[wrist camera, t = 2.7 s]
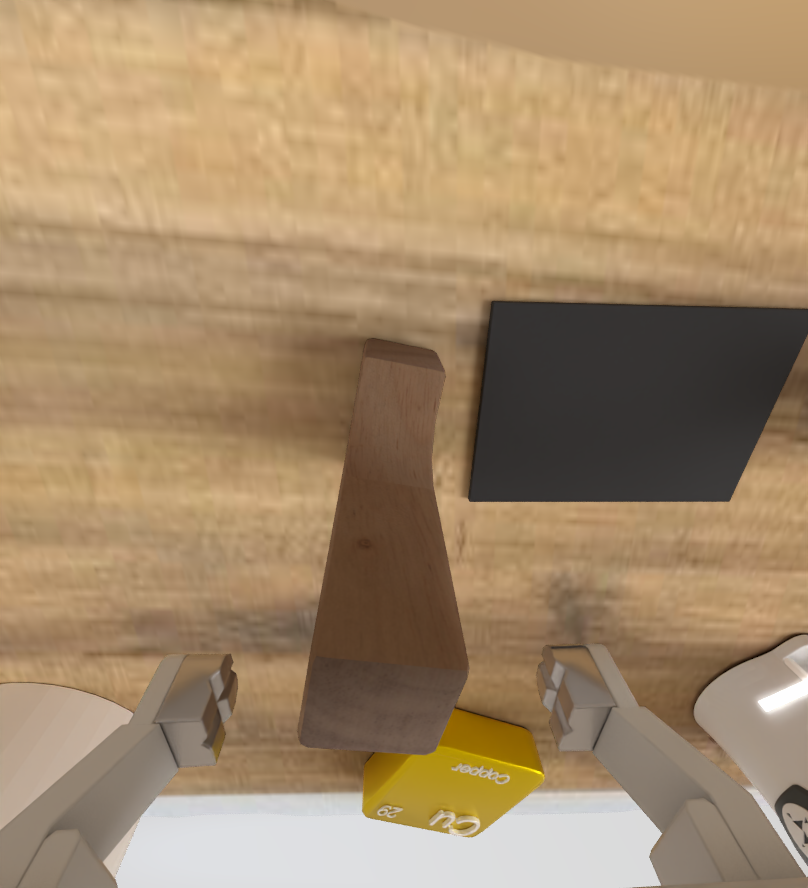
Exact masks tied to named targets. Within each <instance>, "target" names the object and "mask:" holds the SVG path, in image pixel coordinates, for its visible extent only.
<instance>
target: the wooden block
mask: <svg viewBox="0 0 808 888" xmlns="http://www.w3.org/2000/svg"><path fill="white" fill-rule="evenodd" d="M445 377H446V376H445V370H444V368H443V366H442V364H441V362H440V359H439V357H438V355H437V353H436V352H434V351H433V350H428V349H423V348H418V347H413V346H408V345H403V344H398V343H393V342H388V341H383V340H378V339H374V338H372V339H368V340H367V341H366V343H365V347H364V352H363V357H362V363H361V369H360V375H359V381H358V387H357V393H356V398H355V404H354V410H353V416H352V422H351V428H350V434H349V439H348V445H347V451H346V457H345V462H344V468H343V474H342V479H341V485H340V490H339V496H338V501H337V507H336V512H335V518H334V523H333V529H332V535H331V540H330V546H329V551H328V557H327V562H326V568H325V573H324V579H323V584H322V590H321V595H320V601H319V607H318V612H317V618H316V623H315V629H314V634H313V640H312V645H311V651H310V657H309V663H308V669H307V675H306V681H305V688H304V694H303V700H302V706H301V712H300V718H299V724H298V736H299V741H300V743H301V744H302V745H304V746H306V747H310V748H325V749H340V750H354V751H369V752H384V753H399V754H414V755H427V754H430V753H433V752H434V751H436V748H437V746H438V744H439V742H440V739H441V737H442V735H443V732H444V730H445V728H446V726H447V723H448V721H449V719H450V716H451V714H452V712H453V710H454V707H455V705H456V703H457V700H458V698H459V696H460V694H461V691H462V689H463V687H464V684H465V682H466V680H467V677H468V673H469V663H468V658H467V653H466V648H465V643H464V638H463V633H462V628H461V623H460V618H459V613H458V607H457V602H456V597H455V592H454V587H453V582H452V577H451V572H450V567H449V562H448V557H447V552H446V547H445V542H444V537H443V532H442V527H441V522H440V517H439V512H438V507H437V502H436V497H435V492H434V487H433V472H432V451H433V440H434V430H435V421H436V417H437V412H438V408H439V404H440V399H441V395H442V390H443V386H444V381H445Z"/></svg>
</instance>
